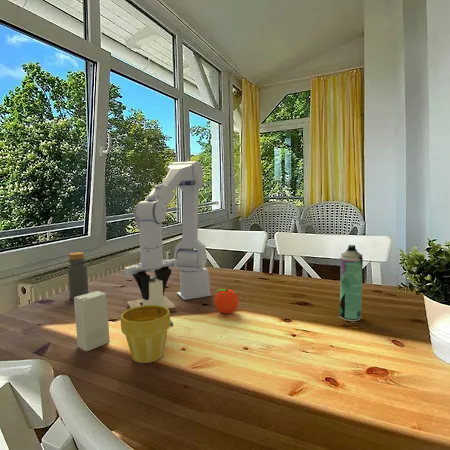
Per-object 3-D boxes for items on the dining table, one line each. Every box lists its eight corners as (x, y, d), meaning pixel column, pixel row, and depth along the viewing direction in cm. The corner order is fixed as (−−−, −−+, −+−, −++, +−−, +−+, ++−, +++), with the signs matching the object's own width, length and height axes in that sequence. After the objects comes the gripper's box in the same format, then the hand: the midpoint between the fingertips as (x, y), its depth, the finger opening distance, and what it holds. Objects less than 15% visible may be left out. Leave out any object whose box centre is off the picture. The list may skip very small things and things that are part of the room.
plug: (155, 303, 98) (154, 275, 97) (163, 306, 95) (162, 277, 94) (142, 306, 95) (141, 277, 94) (150, 309, 92) (148, 280, 91)
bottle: (82, 300, 115) (79, 255, 114) (66, 299, 117) (62, 254, 115) (92, 295, 121) (89, 251, 119) (76, 294, 122) (74, 251, 121)
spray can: (360, 316, 97) (362, 244, 95) (361, 323, 92) (363, 247, 90) (339, 314, 99) (341, 243, 97) (339, 321, 94) (340, 246, 92)
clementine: (207, 315, 100) (206, 290, 99) (216, 307, 107) (215, 284, 106) (234, 318, 97) (233, 293, 97) (241, 310, 104) (241, 286, 103)
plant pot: (112, 363, 74) (109, 318, 73) (140, 342, 83) (138, 302, 82) (155, 372, 70) (153, 324, 69) (180, 349, 80) (178, 307, 78)
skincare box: (100, 338, 86) (97, 289, 85) (110, 343, 83) (107, 293, 82) (76, 347, 81) (72, 296, 80) (86, 353, 79) (82, 300, 77)
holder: (165, 299, 115) (165, 295, 115) (176, 310, 104) (176, 306, 104) (127, 305, 110) (127, 301, 110) (135, 318, 99) (134, 313, 99)
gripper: (166, 242, 101) (168, 288, 102) (118, 248, 91) (121, 299, 93) (180, 244, 96) (182, 293, 97) (131, 252, 86) (133, 306, 87)
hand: (153, 297), depth 95 cm, fingers closed on plug, 4 cm apart
